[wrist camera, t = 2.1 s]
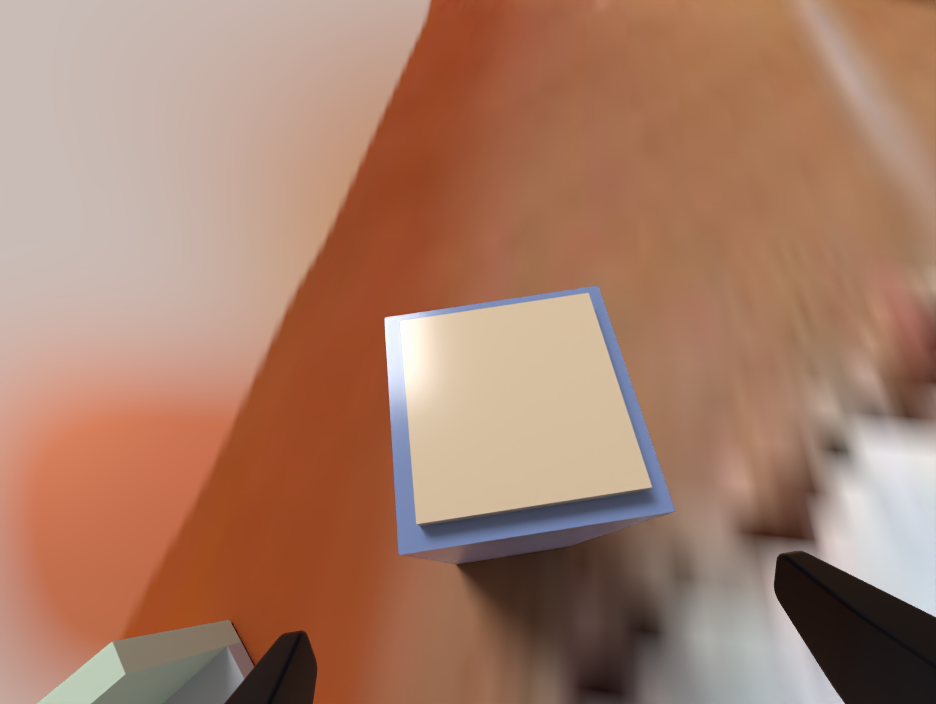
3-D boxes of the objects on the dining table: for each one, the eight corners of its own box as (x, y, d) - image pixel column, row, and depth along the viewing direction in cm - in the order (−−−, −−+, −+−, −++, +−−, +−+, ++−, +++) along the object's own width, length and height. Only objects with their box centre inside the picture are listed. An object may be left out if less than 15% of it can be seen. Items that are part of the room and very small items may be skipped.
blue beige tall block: (569, 546, 18) (684, 508, 7) (456, 564, 18) (394, 554, 7) (543, 435, 20) (601, 275, 9) (443, 451, 20) (380, 307, 9)
